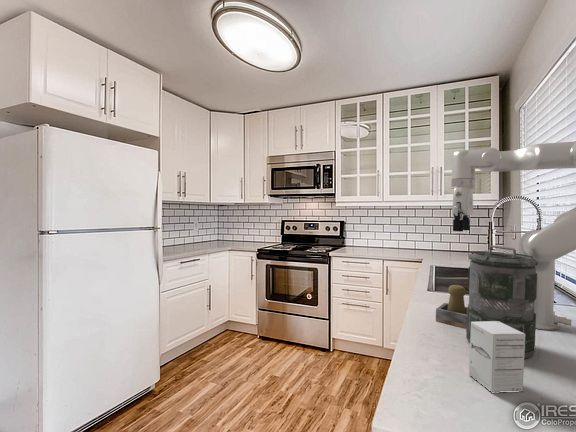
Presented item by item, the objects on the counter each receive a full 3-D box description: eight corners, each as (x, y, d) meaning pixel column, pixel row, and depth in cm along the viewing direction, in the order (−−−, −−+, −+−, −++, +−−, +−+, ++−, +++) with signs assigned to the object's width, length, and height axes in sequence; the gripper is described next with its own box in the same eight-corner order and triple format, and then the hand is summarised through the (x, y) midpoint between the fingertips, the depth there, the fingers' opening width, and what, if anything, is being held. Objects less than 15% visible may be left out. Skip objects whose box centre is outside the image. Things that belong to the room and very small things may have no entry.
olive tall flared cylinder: (461, 315, 111) (462, 283, 111) (469, 321, 105) (470, 288, 105) (443, 314, 111) (444, 283, 111) (450, 320, 105) (451, 287, 105)
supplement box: (467, 375, 72) (469, 320, 72) (498, 374, 73) (499, 320, 73) (490, 394, 65) (493, 333, 65) (524, 393, 66) (526, 333, 65)
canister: (453, 339, 93) (456, 243, 92) (491, 332, 98) (494, 242, 98) (507, 364, 78) (511, 251, 77) (548, 355, 84) (552, 249, 83)
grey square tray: (475, 321, 108) (476, 309, 108) (468, 329, 101) (469, 316, 101) (444, 314, 115) (444, 302, 115) (435, 321, 108) (436, 308, 108)
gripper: (468, 182, 108) (466, 232, 109) (479, 185, 121) (478, 230, 121) (444, 183, 113) (443, 231, 114) (458, 186, 126) (456, 229, 126)
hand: (461, 230), depth 117 cm, fingers open, 9 cm apart
